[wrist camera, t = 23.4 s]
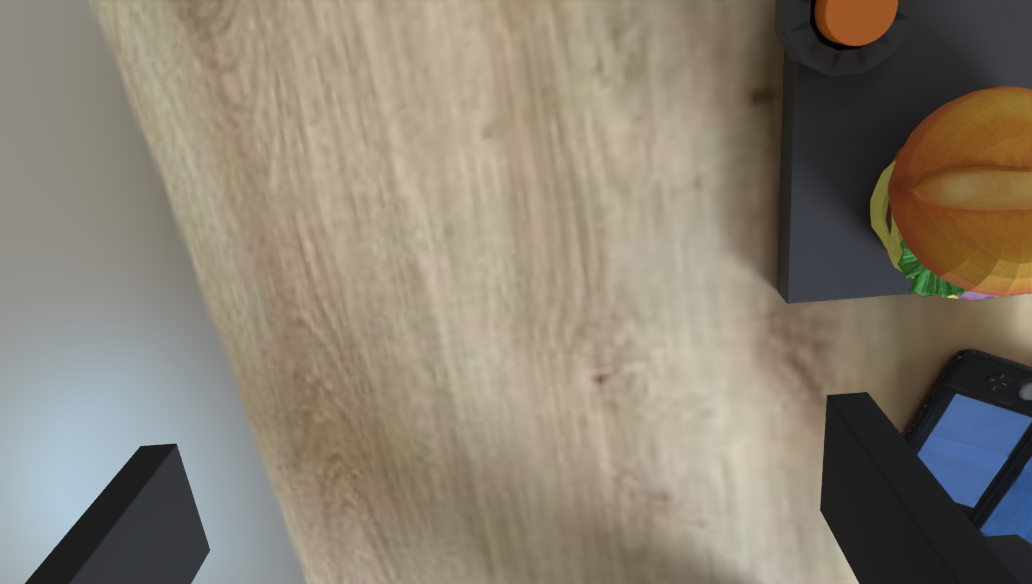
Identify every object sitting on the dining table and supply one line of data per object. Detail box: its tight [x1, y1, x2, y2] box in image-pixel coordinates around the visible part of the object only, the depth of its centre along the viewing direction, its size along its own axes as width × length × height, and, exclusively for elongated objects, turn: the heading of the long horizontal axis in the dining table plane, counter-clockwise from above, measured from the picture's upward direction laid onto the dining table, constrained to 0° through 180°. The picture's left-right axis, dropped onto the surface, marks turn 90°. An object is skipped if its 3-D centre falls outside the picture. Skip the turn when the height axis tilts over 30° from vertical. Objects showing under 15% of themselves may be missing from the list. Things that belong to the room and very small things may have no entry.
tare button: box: [814, 0, 898, 46], centre depth 35 cm, size 3×3×2 cm
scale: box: [775, 0, 1032, 304], centre depth 39 cm, size 19×15×4 cm
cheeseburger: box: [870, 86, 1032, 301], centre depth 37 cm, size 10×11×10 cm
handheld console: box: [903, 349, 1032, 544], centre depth 45 cm, size 12×11×8 cm
